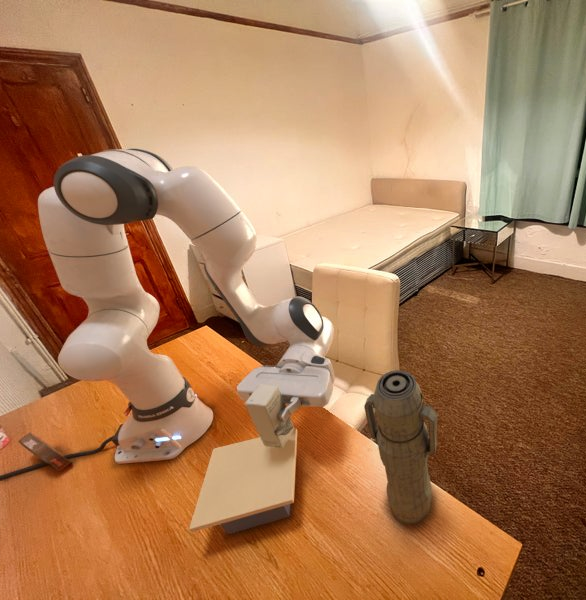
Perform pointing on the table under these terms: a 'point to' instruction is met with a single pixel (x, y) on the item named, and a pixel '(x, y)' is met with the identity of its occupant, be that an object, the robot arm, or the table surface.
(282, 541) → the table surface
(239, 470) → the stand
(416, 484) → the thermos
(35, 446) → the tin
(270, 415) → the box
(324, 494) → the table surface
